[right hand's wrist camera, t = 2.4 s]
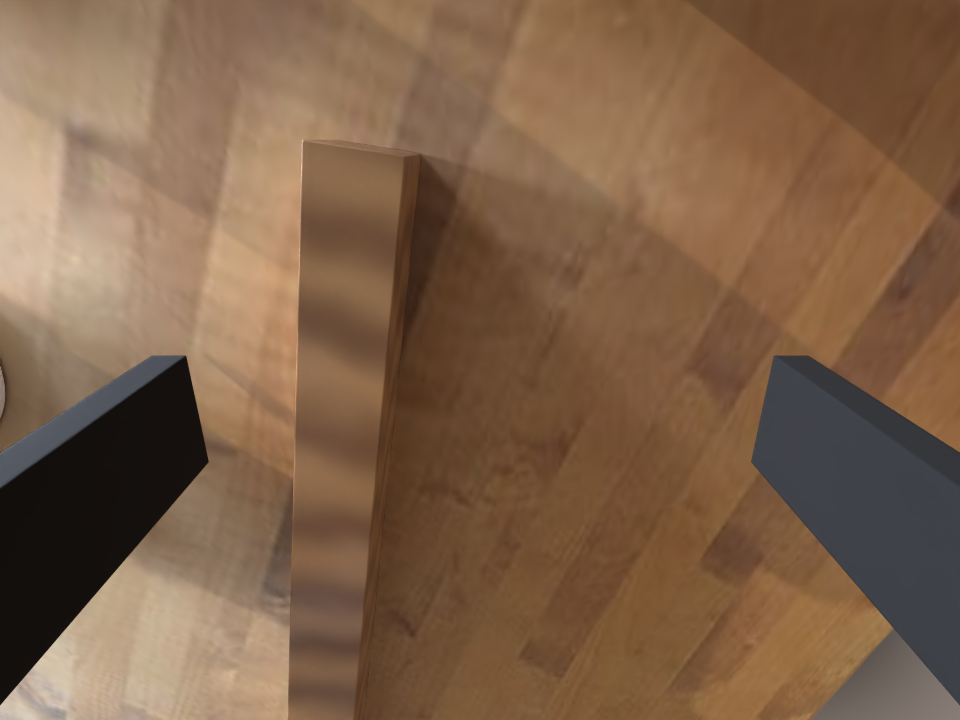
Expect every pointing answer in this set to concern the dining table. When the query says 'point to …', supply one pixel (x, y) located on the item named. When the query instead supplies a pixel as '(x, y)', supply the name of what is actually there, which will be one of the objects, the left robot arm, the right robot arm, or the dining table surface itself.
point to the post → (344, 410)
